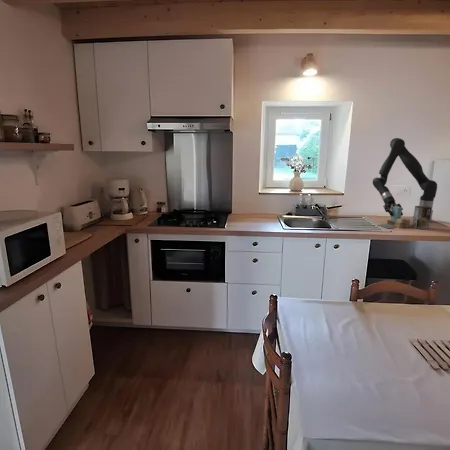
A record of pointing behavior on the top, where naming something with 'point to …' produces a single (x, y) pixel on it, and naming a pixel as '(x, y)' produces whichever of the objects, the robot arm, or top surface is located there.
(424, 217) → the coffee box
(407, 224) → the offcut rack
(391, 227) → the slate mat
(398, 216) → the pale teal pillar
